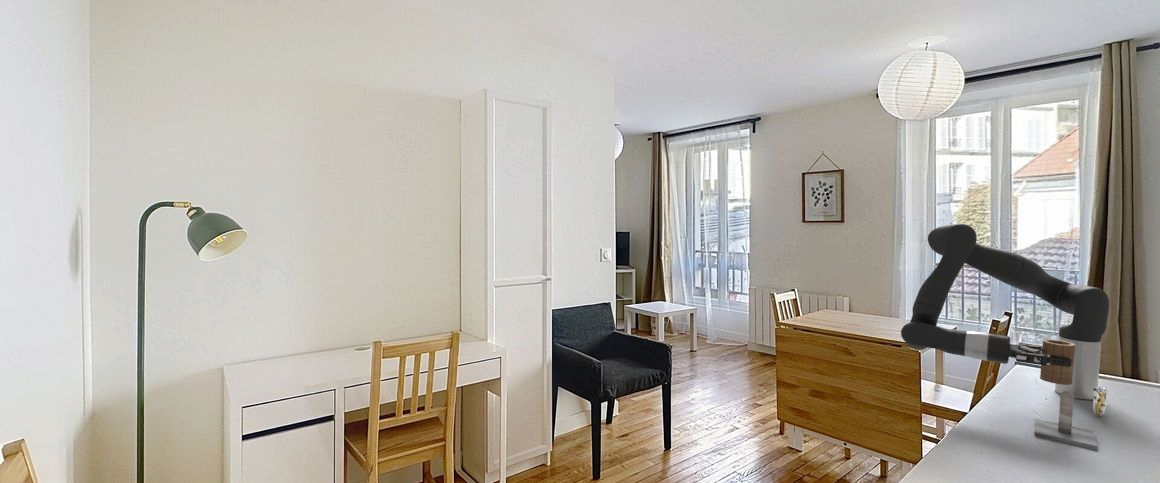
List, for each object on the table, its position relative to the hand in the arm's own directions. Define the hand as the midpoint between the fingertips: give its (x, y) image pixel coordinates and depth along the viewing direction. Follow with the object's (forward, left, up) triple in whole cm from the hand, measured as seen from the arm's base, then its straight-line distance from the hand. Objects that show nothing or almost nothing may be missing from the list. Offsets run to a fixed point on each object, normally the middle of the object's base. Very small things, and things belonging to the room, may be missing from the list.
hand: (1070, 359), depth 131 cm
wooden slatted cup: (0, -3, -6) cm, 6 cm away
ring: (-18, +7, -18) cm, 27 cm away
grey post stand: (+6, 0, -18) cm, 19 cm away
